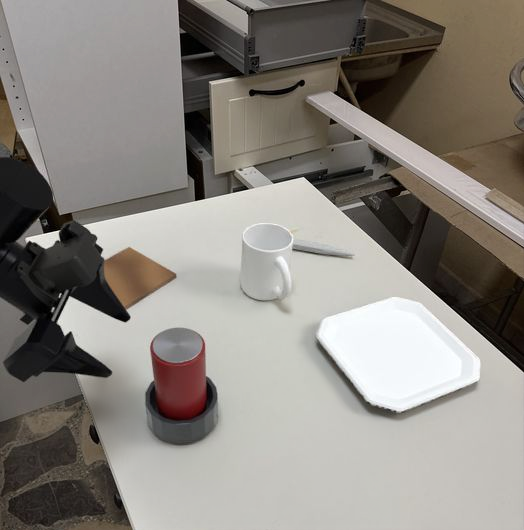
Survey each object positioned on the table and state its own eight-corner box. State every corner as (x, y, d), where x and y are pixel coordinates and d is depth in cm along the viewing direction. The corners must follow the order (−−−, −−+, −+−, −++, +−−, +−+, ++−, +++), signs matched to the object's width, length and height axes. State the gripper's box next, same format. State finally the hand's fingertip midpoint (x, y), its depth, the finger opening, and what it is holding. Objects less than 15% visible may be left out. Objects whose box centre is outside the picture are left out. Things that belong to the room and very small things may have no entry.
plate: (406, 300, 91) (409, 290, 90) (490, 382, 79) (496, 372, 77) (304, 332, 84) (305, 322, 83) (378, 428, 71) (382, 418, 70)
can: (159, 436, 68) (150, 366, 58) (158, 397, 72) (149, 327, 63) (208, 431, 69) (207, 362, 59) (204, 394, 73) (203, 324, 64)
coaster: (124, 310, 85) (123, 307, 84) (76, 279, 90) (75, 276, 89) (176, 277, 92) (176, 273, 91) (129, 250, 97) (129, 246, 96)
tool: (354, 256, 100) (356, 248, 99) (354, 261, 99) (356, 253, 97) (266, 240, 102) (267, 231, 100) (264, 245, 101) (265, 236, 99)
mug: (306, 308, 88) (315, 257, 81) (263, 321, 85) (267, 269, 78) (273, 268, 96) (278, 218, 88) (232, 279, 93) (233, 228, 85)
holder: (148, 448, 67) (145, 427, 64) (148, 393, 73) (145, 371, 70) (220, 441, 68) (220, 420, 65) (213, 388, 75) (213, 366, 72)
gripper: (0, 277, 43) (147, 376, 51) (69, 171, 56) (177, 263, 64) (-59, 339, 49) (82, 419, 57) (16, 229, 62) (122, 307, 70)
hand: (119, 346), depth 62 cm, fingers open, 9 cm apart
